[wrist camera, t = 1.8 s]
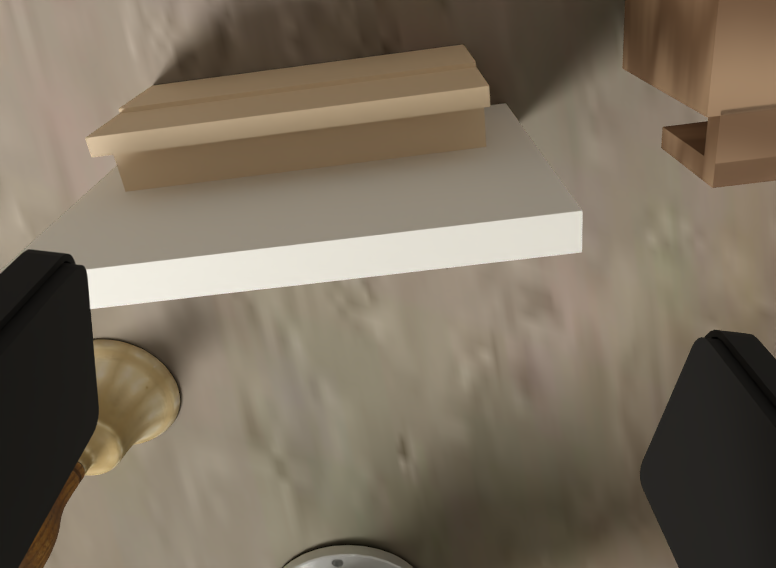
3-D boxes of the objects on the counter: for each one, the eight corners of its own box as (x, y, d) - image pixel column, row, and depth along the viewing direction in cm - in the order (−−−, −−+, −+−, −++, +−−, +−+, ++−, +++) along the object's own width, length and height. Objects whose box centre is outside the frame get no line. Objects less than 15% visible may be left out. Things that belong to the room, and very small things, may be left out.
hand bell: (28, 398, 44) (-140, 623, 30) (89, 315, 41) (-65, 520, 27) (140, 459, 46) (34, 693, 32) (205, 385, 43) (120, 605, 29)
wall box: (735, 110, 35) (854, 170, 26) (620, 124, 35) (699, 189, 27) (757, -77, 31) (907, -79, 22) (627, -59, 31) (724, -53, 23)
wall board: (507, 131, 36) (581, 252, 22) (141, 177, 37) (5, 318, 23) (503, 39, 33) (583, 112, 20) (114, 90, 34) (-53, 192, 21)
